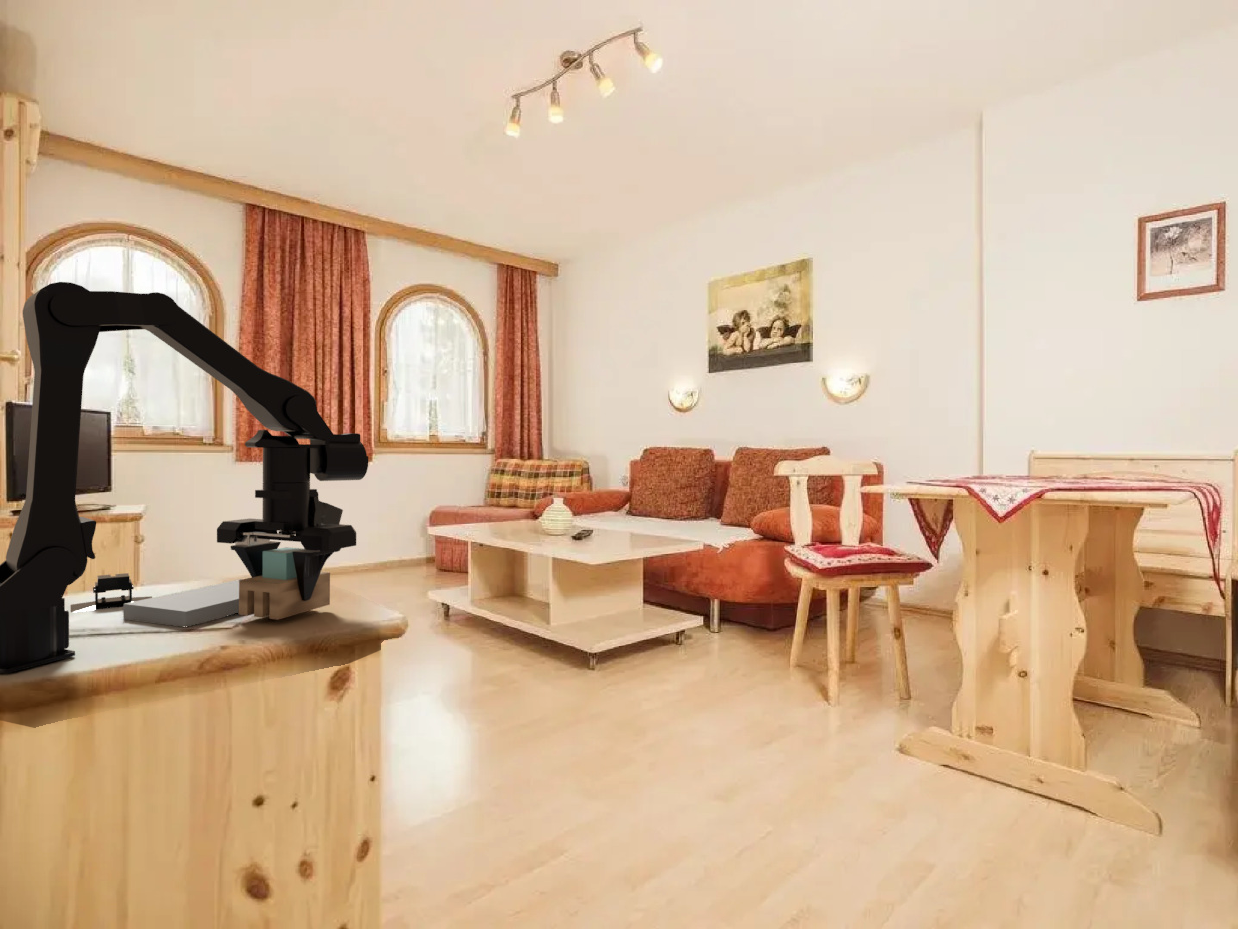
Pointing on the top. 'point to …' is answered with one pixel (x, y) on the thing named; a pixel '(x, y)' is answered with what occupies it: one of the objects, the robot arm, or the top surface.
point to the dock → (187, 605)
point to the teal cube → (279, 563)
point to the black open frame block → (109, 584)
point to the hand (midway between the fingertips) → (286, 598)
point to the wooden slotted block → (280, 596)
